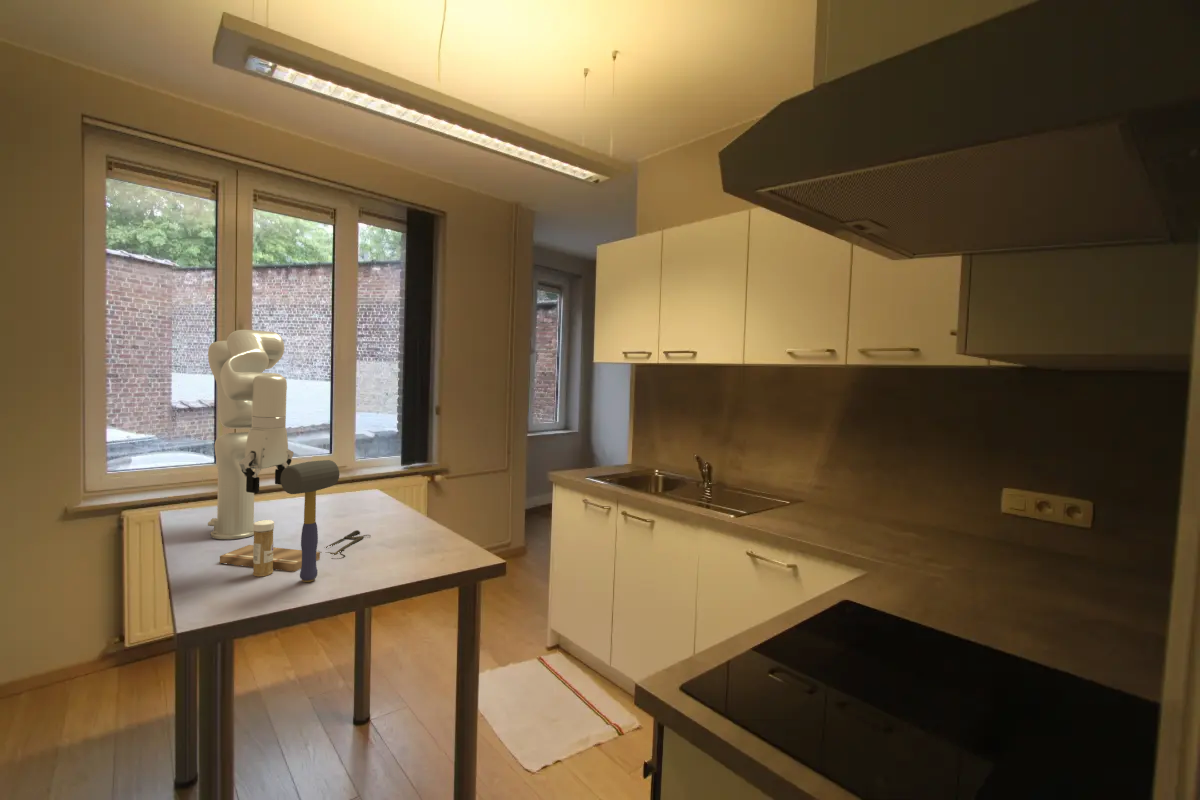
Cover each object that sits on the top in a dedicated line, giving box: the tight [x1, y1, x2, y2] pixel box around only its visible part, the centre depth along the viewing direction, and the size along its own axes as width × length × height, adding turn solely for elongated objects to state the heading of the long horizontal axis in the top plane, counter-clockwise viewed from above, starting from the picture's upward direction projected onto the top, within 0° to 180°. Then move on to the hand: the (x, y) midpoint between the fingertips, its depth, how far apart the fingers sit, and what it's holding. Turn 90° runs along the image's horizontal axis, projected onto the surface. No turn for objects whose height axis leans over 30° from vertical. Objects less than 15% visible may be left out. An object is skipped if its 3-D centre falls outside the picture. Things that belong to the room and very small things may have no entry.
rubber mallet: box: [280, 459, 340, 583], centre depth 138 cm, size 12×8×30 cm, turn 159°
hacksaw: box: [325, 530, 372, 560], centre depth 167 cm, size 24×10×2 cm, turn 172°
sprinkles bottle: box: [252, 519, 275, 578], centre depth 141 cm, size 5×5×13 cm
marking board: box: [219, 544, 321, 572], centre depth 151 cm, size 22×10×2 cm, turn 81°
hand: (267, 488), depth 144 cm, fingers open, 9 cm apart
